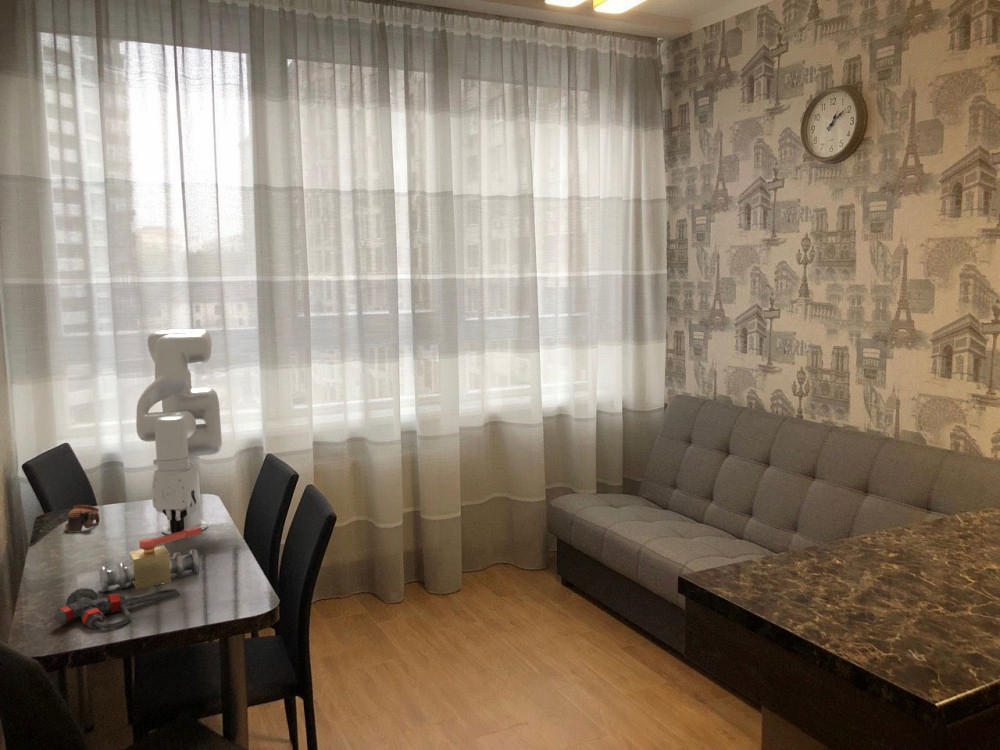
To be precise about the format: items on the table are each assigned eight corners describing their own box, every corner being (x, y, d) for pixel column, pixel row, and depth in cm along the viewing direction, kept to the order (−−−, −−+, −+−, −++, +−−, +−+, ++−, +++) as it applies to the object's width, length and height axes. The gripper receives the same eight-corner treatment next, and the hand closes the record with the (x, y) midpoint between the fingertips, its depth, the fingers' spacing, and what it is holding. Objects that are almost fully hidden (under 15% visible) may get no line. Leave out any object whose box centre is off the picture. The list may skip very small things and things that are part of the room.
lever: (195, 531, 207) (194, 525, 207) (203, 534, 205) (202, 528, 204) (136, 547, 195) (136, 540, 195) (144, 550, 193) (144, 544, 192)
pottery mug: (56, 532, 240) (63, 505, 244) (86, 538, 247) (93, 512, 251) (77, 528, 234) (84, 500, 237) (107, 534, 241) (114, 507, 244)
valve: (65, 652, 163) (48, 620, 174) (192, 621, 181) (169, 593, 191) (65, 624, 162) (48, 593, 173) (193, 595, 179) (170, 569, 190)
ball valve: (100, 587, 193) (97, 552, 192) (194, 568, 205) (192, 535, 204) (103, 596, 188) (100, 560, 187) (200, 576, 199) (198, 542, 198)
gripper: (137, 467, 200) (142, 537, 202) (191, 468, 197) (195, 540, 199) (155, 460, 207) (160, 528, 209) (207, 461, 204) (212, 531, 206)
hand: (177, 534), depth 204 cm, fingers closed
